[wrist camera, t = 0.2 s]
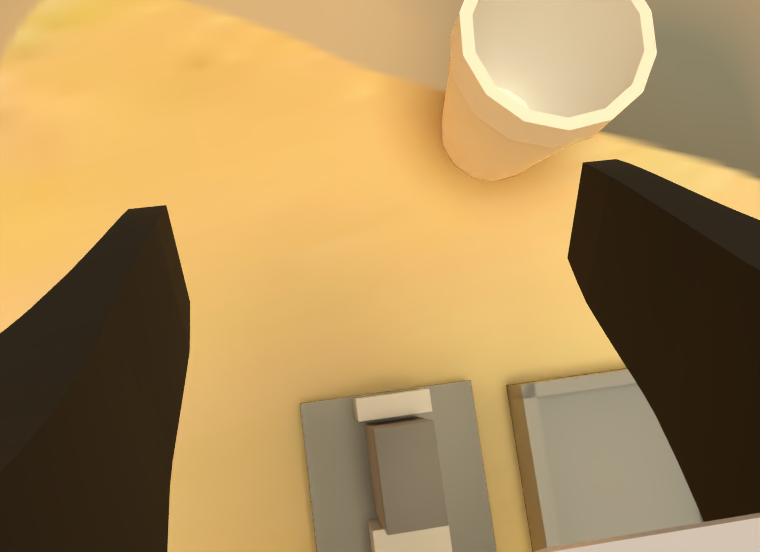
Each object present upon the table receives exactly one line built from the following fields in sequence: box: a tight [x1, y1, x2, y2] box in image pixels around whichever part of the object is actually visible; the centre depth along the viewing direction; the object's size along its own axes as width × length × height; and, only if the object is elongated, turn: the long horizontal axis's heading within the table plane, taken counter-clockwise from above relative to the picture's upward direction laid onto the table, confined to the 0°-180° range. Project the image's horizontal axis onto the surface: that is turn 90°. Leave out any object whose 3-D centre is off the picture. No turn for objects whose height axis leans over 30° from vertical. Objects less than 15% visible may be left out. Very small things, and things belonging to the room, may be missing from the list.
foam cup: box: [441, 0, 657, 181], centre depth 39 cm, size 10×9×13 cm
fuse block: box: [300, 380, 497, 552], centre depth 38 cm, size 10×17×4 cm, turn 8°
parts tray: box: [507, 369, 703, 552], centre depth 41 cm, size 16×11×3 cm
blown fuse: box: [365, 416, 449, 535], centre depth 37 cm, size 5×3×6 cm, turn 8°
